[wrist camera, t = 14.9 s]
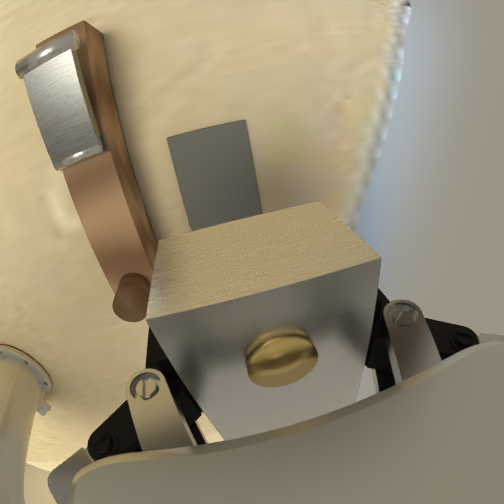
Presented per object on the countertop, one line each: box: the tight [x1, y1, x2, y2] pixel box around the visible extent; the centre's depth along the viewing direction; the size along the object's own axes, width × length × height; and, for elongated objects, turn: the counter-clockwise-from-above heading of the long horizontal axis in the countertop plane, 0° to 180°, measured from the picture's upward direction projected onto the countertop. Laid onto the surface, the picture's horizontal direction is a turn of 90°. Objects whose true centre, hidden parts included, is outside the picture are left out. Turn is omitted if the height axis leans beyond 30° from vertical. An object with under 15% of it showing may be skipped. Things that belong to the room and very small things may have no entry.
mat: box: [167, 120, 262, 231], centre depth 26 cm, size 10×7×1 cm
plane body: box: [36, 21, 158, 322], centre depth 19 cm, size 26×4×8 cm, turn 10°
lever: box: [15, 29, 105, 171], centre depth 14 cm, size 2×5×10 cm
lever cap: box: [146, 201, 381, 441], centre depth 9 cm, size 7×5×4 cm
